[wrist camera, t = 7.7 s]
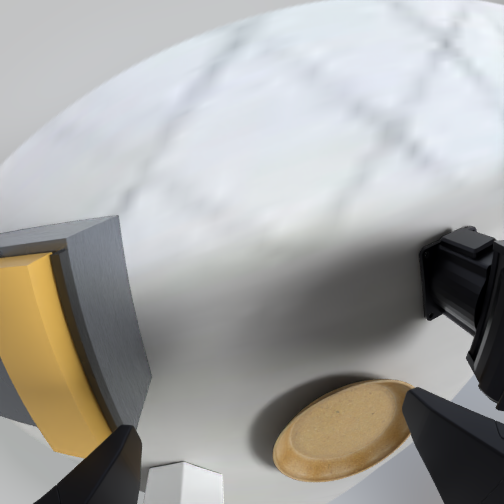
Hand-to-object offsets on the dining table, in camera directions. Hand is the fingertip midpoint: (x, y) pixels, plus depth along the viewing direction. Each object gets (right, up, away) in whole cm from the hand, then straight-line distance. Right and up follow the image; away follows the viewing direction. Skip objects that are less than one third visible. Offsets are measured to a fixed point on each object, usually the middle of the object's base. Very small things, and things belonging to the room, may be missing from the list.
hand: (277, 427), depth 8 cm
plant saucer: (+8, -11, +17) cm, 22 cm away
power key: (-11, 0, +4) cm, 12 cm away
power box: (-15, +1, +11) cm, 18 cm away
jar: (-8, -20, +17) cm, 27 cm away
